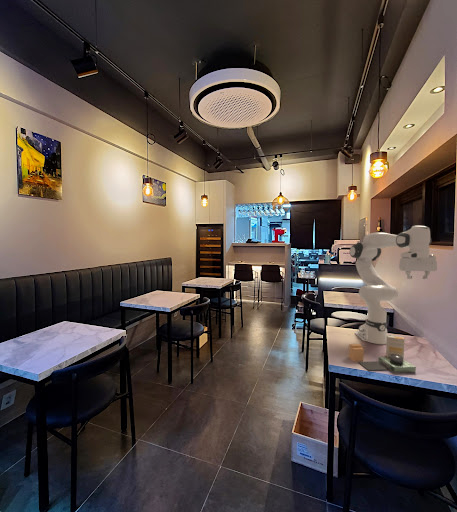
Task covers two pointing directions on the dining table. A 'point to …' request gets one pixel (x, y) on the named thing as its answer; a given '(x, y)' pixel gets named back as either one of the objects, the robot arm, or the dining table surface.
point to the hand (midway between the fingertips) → (417, 278)
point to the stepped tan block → (356, 352)
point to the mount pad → (373, 366)
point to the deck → (397, 364)
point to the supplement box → (395, 345)
